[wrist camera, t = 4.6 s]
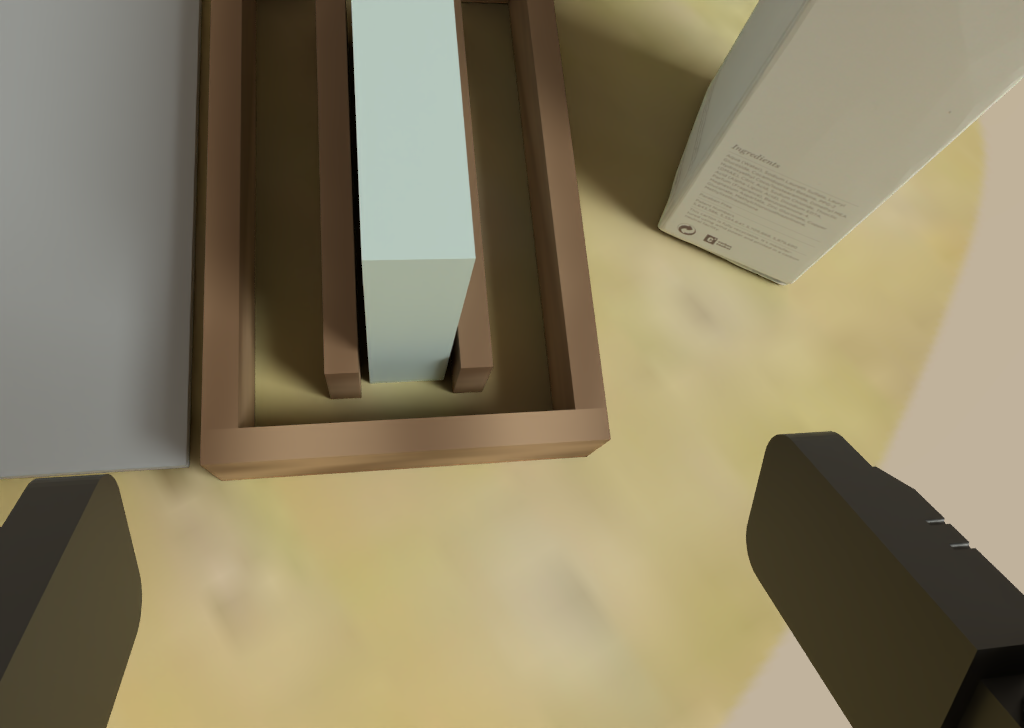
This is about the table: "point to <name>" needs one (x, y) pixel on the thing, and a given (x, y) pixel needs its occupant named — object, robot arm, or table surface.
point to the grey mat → (97, 233)
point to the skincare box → (832, 120)
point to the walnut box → (231, 273)
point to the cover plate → (411, 185)
